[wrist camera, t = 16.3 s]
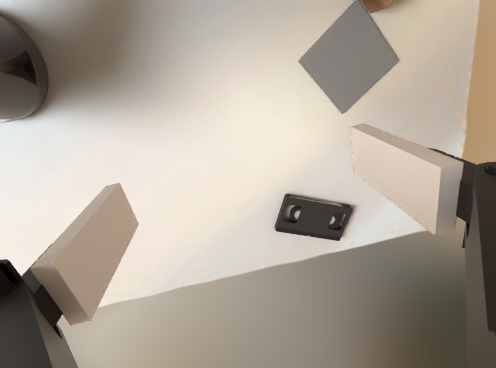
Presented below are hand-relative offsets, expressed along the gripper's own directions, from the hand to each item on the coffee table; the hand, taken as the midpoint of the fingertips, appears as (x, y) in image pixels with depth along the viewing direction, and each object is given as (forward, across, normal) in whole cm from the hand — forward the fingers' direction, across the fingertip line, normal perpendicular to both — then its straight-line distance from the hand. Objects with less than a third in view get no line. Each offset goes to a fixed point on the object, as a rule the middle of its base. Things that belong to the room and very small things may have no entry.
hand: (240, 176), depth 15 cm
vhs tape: (+34, +12, -26) cm, 44 cm away
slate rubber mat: (+33, +21, +2) cm, 39 cm away
